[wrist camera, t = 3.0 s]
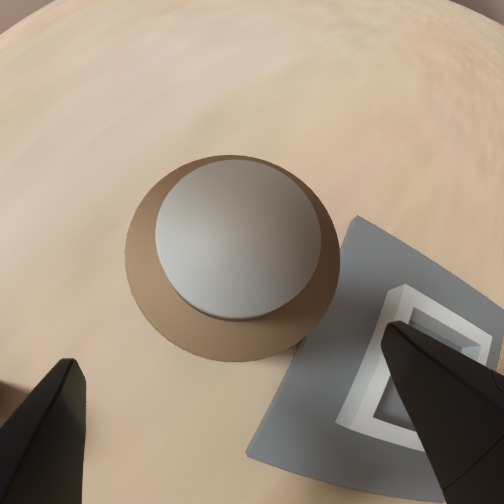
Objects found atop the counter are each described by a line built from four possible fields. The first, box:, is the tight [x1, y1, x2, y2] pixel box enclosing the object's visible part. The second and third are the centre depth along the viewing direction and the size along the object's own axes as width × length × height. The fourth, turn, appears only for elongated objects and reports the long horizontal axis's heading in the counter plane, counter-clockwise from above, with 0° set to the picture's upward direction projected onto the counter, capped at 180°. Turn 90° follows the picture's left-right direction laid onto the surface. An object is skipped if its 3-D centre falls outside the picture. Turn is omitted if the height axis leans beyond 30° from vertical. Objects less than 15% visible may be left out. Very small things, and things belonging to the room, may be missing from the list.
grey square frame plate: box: [245, 215, 504, 503], centre depth 17 cm, size 16×16×3 cm
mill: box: [125, 155, 340, 362], centre depth 12 cm, size 5×5×13 cm
